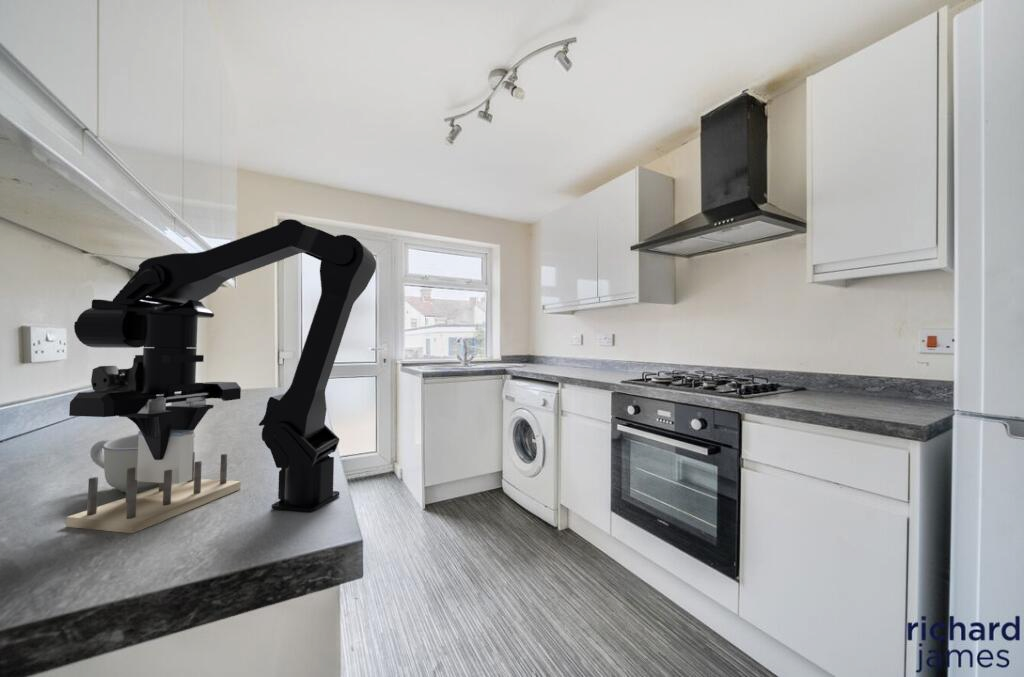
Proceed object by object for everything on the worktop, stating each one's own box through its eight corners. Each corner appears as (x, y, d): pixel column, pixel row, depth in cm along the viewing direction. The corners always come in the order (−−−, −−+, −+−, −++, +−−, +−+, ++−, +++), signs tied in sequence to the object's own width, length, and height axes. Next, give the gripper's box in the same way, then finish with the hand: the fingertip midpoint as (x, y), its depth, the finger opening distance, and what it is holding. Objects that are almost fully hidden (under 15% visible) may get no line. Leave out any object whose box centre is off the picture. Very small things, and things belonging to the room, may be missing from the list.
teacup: (210, 477, 66) (211, 430, 66) (143, 501, 55) (146, 445, 56) (138, 473, 68) (140, 428, 68) (60, 496, 57) (63, 443, 57)
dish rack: (240, 489, 60) (241, 452, 61) (133, 533, 46) (135, 485, 46) (187, 485, 62) (188, 450, 62) (66, 526, 47) (68, 480, 47)
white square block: (192, 479, 54) (193, 430, 55) (178, 484, 52) (180, 433, 53) (151, 476, 55) (152, 428, 56) (136, 481, 53) (138, 431, 54)
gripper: (187, 348, 65) (184, 440, 64) (36, 347, 47) (29, 475, 46) (244, 348, 63) (242, 443, 63) (110, 347, 45) (104, 480, 44)
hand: (166, 457), depth 54 cm, fingers closed on white square block, 2 cm apart
